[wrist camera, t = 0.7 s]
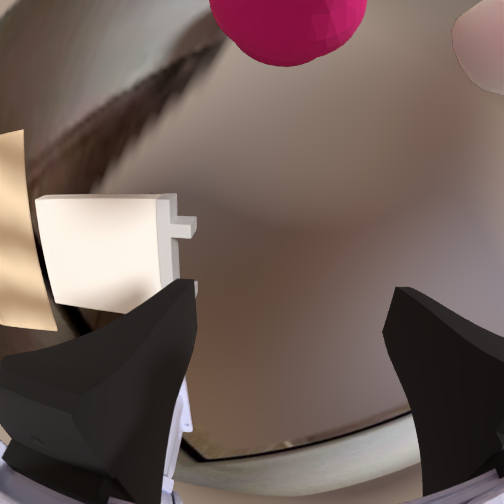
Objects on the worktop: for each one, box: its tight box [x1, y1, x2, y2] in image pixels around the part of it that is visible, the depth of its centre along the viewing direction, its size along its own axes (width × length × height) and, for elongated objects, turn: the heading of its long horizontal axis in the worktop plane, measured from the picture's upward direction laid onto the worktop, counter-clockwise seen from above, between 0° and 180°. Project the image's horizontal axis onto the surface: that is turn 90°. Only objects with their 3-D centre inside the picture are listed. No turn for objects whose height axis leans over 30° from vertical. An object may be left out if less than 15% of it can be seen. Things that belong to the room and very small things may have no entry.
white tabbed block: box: [35, 193, 198, 314], centre depth 19 cm, size 8×11×2 cm
